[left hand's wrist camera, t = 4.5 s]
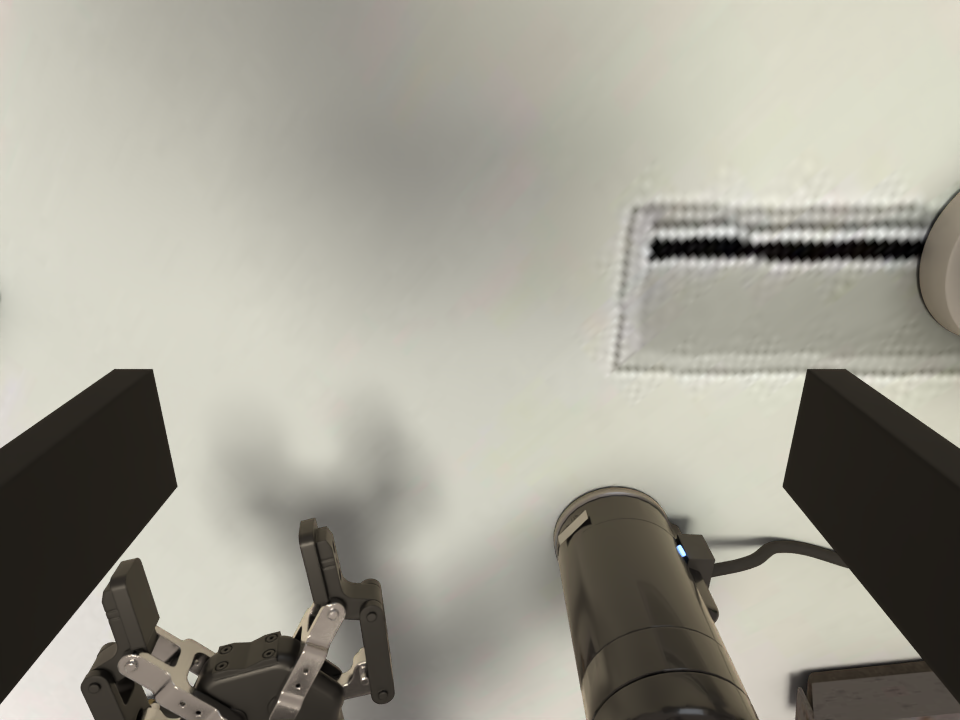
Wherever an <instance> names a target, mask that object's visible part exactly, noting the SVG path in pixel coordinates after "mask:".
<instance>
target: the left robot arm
mask: <svg viewBox="0 0 960 720" xmlns="http://www.w3.org/2000/svg"><path fill="white" fill-rule="evenodd" d="M176 488H177V482H176V477H175V473H174V468H173V463H172V458H171V454H170V449H169V444H168V439H167V435H166V430H165V425H164V420H163V416H162V411H161V406H160V401H159V397H158V392H157V387H156V383H155V378H154V373H153V369H114V370H113V371H111V372H110V373H108V374H107V375H105V376H104V377H102V378H101V379H100V380H98V381H97V382H95V383H94V384H92V385H91V386H90V387H88V388H87V389H85V390H84V391H82V392H81V393H79V394H78V395H77V396H75V397H74V398H72V399H71V400H69V401H68V402H67V403H65V404H64V405H62V406H61V407H59V408H58V409H56V410H55V411H54V412H52V413H51V414H49V415H48V416H46V417H45V418H44V419H42V420H41V421H39V422H38V423H36V424H35V425H33V426H32V427H31V428H29V429H28V430H26V431H25V432H23V433H22V434H21V435H19V436H18V437H16V438H15V439H13V440H12V441H10V442H9V443H8V444H6V445H5V446H3V447H2V448H0V704H1V703H2V702H3V700H4V699H5V698H6V697H7V695H8V694H9V693H10V692H11V691H12V689H13V688H14V687H15V686H16V684H17V683H18V682H19V681H20V679H21V678H22V677H23V676H24V675H25V673H26V672H27V671H28V670H29V668H30V667H31V666H32V665H33V664H34V662H35V661H36V660H37V659H38V657H39V656H40V655H41V654H42V652H43V651H44V650H45V649H46V648H47V646H48V645H49V644H50V643H51V641H52V640H53V639H54V638H55V636H56V635H57V634H58V633H59V632H60V630H61V629H62V628H63V627H64V625H65V624H66V623H67V622H68V621H69V619H70V618H71V617H72V616H73V614H74V613H75V612H76V611H77V609H78V608H79V607H80V606H81V605H82V603H83V602H84V601H85V600H86V598H87V597H88V596H89V595H90V593H91V592H92V591H93V590H94V589H95V587H96V586H97V585H98V584H99V582H100V581H101V580H102V579H103V578H104V576H105V575H106V574H107V573H108V571H109V570H110V569H111V568H112V566H113V565H114V564H115V563H116V562H117V560H118V559H119V558H120V557H121V555H122V554H123V553H124V552H125V550H126V549H127V548H128V547H129V546H130V544H131V543H132V542H133V541H134V539H135V538H136V537H137V536H138V535H139V533H140V532H141V531H142V530H143V528H144V527H145V526H146V525H147V523H148V522H149V521H150V520H151V519H152V517H153V516H154V515H155V514H156V512H157V511H158V510H159V509H160V507H161V506H162V505H163V504H164V503H165V501H166V500H167V499H168V498H169V496H170V495H171V494H172V493H173V492H174V490H175V489H176ZM783 488H784V489H785V490H786V492H787V493H788V494H789V495H790V496H791V498H792V499H793V500H794V501H795V503H796V504H797V505H798V506H799V507H800V509H801V510H802V511H803V512H804V514H805V515H806V516H807V517H808V519H809V520H810V521H811V522H812V523H813V525H814V526H815V527H816V528H817V530H818V531H819V532H820V533H821V535H822V536H823V537H824V538H825V539H826V541H827V542H828V543H829V544H830V546H831V547H832V548H833V549H834V550H835V552H836V553H837V554H838V555H839V557H840V558H841V559H842V560H843V562H844V563H845V564H846V565H847V566H848V568H849V569H850V570H851V571H852V573H853V574H854V575H855V576H856V578H857V579H858V580H859V581H860V582H861V584H862V585H863V586H864V587H865V589H866V590H867V591H868V592H869V593H870V595H871V596H872V597H873V598H874V600H875V601H876V602H877V603H878V605H879V606H880V607H881V608H882V609H883V611H884V612H885V613H886V614H887V616H888V617H889V618H890V619H891V621H892V622H893V623H894V624H895V625H896V627H897V628H898V629H899V630H900V632H901V633H902V634H903V635H904V636H905V638H906V639H907V640H908V641H909V643H910V644H911V645H912V646H913V648H914V649H915V650H916V651H917V652H918V654H919V655H920V656H921V657H922V659H923V660H924V661H925V662H926V664H927V665H928V666H929V667H930V668H931V670H932V671H933V672H934V673H935V675H936V676H937V677H938V678H939V679H940V681H941V682H942V683H943V684H944V686H945V687H946V688H947V689H948V691H949V692H950V693H951V694H952V695H953V697H954V698H955V699H956V700H957V702H958V703H959V704H960V448H958V447H957V446H955V445H954V444H952V443H951V442H950V441H948V440H947V439H945V438H944V437H942V436H941V435H939V434H938V433H937V432H935V431H934V430H932V429H931V428H929V427H928V426H927V425H925V424H924V423H922V422H921V421H919V420H918V419H916V418H915V417H914V416H912V415H911V414H909V413H908V412H906V411H905V410H904V409H902V408H901V407H899V406H898V405H896V404H895V403H893V402H892V401H891V400H889V399H888V398H886V397H885V396H883V395H882V394H881V393H879V392H878V391H876V390H875V389H873V388H872V387H870V386H869V385H868V384H866V383H865V382H863V381H862V380H860V379H859V378H858V377H856V376H855V375H853V374H852V373H850V372H849V371H847V370H846V369H807V373H806V378H805V383H804V387H803V392H802V397H801V401H800V406H799V411H798V416H797V420H796V425H795V430H794V435H793V439H792V444H791V449H790V454H789V458H788V463H787V468H786V473H785V477H784V482H783Z"/></svg>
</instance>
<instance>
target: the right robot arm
mask: <svg viewBox="0 0 960 720" xmlns="http://www.w3.org/2000/svg"><path fill="white" fill-rule="evenodd" d="M299 544H300V549H301V553H302V557H303V561H304V565H305V569H306V573H307V577H308V581H309V585H310V589H311V593H312V597H313V601H314V602H313V604H312V606H311V607H310V608H308V609H307V611H306V612H305V614H304V616H303V618H302V620H301V622H300V624H299V625H298V627H297V629H296V631H295V633H294V635H293V637H290V636H281V633H280V631H279V632H275V633H271V634H267V635H264V636H262V637H260V638H258V639H256V640H254V641H252V642H245V643H232V644H228V645H224V646H220V647H219V650H218V652H217V653H214V652H213V651H211V650H209V649H208V648H206V647H204V646H203V645H201V644H199V643H198V642H196V641H194V640H193V639H186V640H180V639H178V638H177V637H175V636H173V635H172V634H170V633H168V632H167V631H165V630H163V629H162V628H160V627H158V626H157V622H158V620H159V618H160V617H159V614H158V611H157V608H156V605H155V602H154V599H153V596H152V593H151V590H150V587H149V584H148V581H147V577H146V574H145V571H144V568H143V565H142V562H141V560H140V559H139V558H135V559H130V560H126V561H122V562H121V563H120V564H119V566H118V568H117V569H116V571H115V572H114V574H113V575H112V577H111V579H110V582H109V584H108V585H107V587H106V588H105V590H104V591H103V597H102V604H103V607H104V610H105V612H106V616H107V618H108V619H109V624H110V627H111V630H112V633H113V635H114V638H115V641H116V642H110V643H107V644H105V645H104V646H103V647H102V648H101V650H100V652H99V653H98V655H97V658H96V660H95V662H94V664H93V666H92V667H91V669H90V671H89V673H88V674H87V675H86V677H85V678H84V680H83V682H82V684H81V691H82V694H83V696H84V698H85V700H86V702H87V704H88V706H89V708H90V711H91V713H92V715H93V717H94V719H95V720H344V717H343V713H342V709H341V707H342V705H343V702H344V700H345V699H350V698H354V697H359V696H363V695H367V694H371V697H372V700H373V701H374V702H375V703H378V704H385V703H388V702H389V701H391V700H392V699H393V697H394V694H395V692H394V682H393V672H392V663H391V655H390V648H389V641H388V634H387V626H386V619H385V612H384V605H383V598H382V591H381V585H380V583H379V582H378V581H377V580H375V579H366V580H364V581H363V582H362V583H352V582H349V581H347V580H346V579H345V578H344V577H343V575H342V573H341V568H340V564H339V560H338V555H337V551H336V547H335V542H334V538H333V534H332V533H331V531H330V530H329V529H328V527H327V526H326V527H322V528H318V526H317V522H316V519H315V518H313V519H308V520H304V521H301V523H300V530H299ZM554 547H555V552H556V557H557V560H558V562H559V568H560V574H561V580H562V586H563V592H564V597H565V603H566V609H567V614H568V620H569V626H570V631H571V637H572V642H573V648H574V654H575V659H576V665H577V671H578V676H579V682H580V688H581V693H582V698H583V704H584V709H585V715H586V720H759V718H758V716H757V714H756V712H755V710H754V707H753V705H752V704H751V702H750V699H749V697H748V695H747V693H746V691H745V688H744V686H743V684H742V682H741V680H740V678H739V675H738V673H737V671H736V669H735V667H734V665H733V662H732V660H731V658H730V656H729V654H728V652H727V650H726V648H725V646H724V643H723V641H722V639H721V637H720V635H719V633H718V630H717V628H716V626H715V624H714V623H715V622H716V621H717V619H718V617H719V611H718V608H717V606H716V604H715V602H714V600H713V598H712V596H711V594H710V592H709V590H708V588H709V584H710V580H711V577H716V576H721V575H726V574H731V573H736V572H741V571H745V570H748V569H751V568H754V567H757V566H759V565H761V564H762V563H764V562H765V561H766V560H767V559H768V558H770V557H771V556H772V555H774V554H776V553H795V554H801V555H806V556H810V557H814V558H817V559H820V560H823V561H827V562H830V563H833V564H836V565H839V566H842V567H846V568H848V566H847V565H846V564H845V563H844V562H843V560H842V559H841V558H840V557H839V555H838V554H837V553H836V552H834V551H831V550H827V549H824V548H821V547H818V546H814V545H811V544H807V543H802V542H796V541H773V542H769V543H766V544H764V545H763V546H762V547H760V548H759V549H758V550H757V551H756V552H754V553H753V554H751V555H749V556H746V557H743V558H739V559H736V560H731V561H726V562H721V563H715V559H714V557H713V555H712V553H711V551H710V549H709V547H708V545H707V543H706V542H705V540H704V538H703V536H702V535H692V534H682V533H681V531H680V529H679V527H678V526H677V525H674V524H672V523H670V522H669V520H668V518H667V516H666V514H665V512H664V510H663V509H662V508H661V506H660V505H659V504H658V503H657V502H656V501H655V500H653V499H652V498H651V497H649V496H647V495H646V494H644V493H641V492H639V491H636V490H632V489H627V488H605V489H600V490H596V491H593V492H590V493H588V494H586V495H584V496H582V497H580V498H578V499H577V500H576V501H574V502H573V503H572V504H571V505H569V506H568V507H567V508H566V510H565V511H564V512H563V513H562V515H561V516H560V518H559V520H558V522H557V525H556V527H555V531H554ZM714 563H715V564H714ZM344 619H349V620H360V625H361V631H362V638H363V644H364V647H363V648H361V649H360V650H359V652H358V653H357V654H356V655H355V656H354V658H353V665H352V667H351V669H350V670H349V671H347V672H345V673H342V671H341V670H340V669H339V668H338V667H337V666H336V665H334V664H333V663H331V662H330V661H328V660H327V659H326V656H327V653H328V650H329V646H330V644H331V642H332V640H333V638H334V636H335V634H336V633H337V631H338V629H339V627H340V625H341V623H342V621H343V620H344ZM189 671H191V672H192V673H194V674H196V675H198V678H197V680H196V682H195V684H194V687H192V686H191V685H190V684H189V682H188V679H187V676H188V673H189ZM141 685H142V686H144V687H145V688H147V689H149V690H151V691H152V692H153V694H154V698H155V700H156V702H157V703H158V704H157V703H153V704H151V705H150V704H149V702H148V699H147V697H146V695H145V693H144V690H143V688H142V686H141ZM160 705H161V706H162V707H164V708H166V709H168V710H170V711H172V712H173V713H175V714H177V715H179V716H180V718H177V719H171V718H168V717H166V716H165V715H164V714H163V713H162V712H161V711H160V710H159V709H160Z"/></svg>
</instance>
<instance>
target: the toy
mask: <svg viewBox="0 0 960 720" xmlns="http://www.w3.org/2000/svg"><path fill="white" fill-rule="evenodd" d="M795 720H960V704H959V703H958V702H957V700H956V699H955V698H954V697H953V695H952V694H951V693H950V692H949V691H948V689H947V688H946V687H945V686H944V684H943V683H942V682H941V681H940V679H939V678H938V677H937V676H936V675H935V673H934V672H933V671H932V670H931V668H930V667H929V666H928V665H927V664H926V662H925V661H918V662H908V663H899V664H889V665H880V666H870V667H861V668H851V669H841V670H832V671H822V672H813V673H811V674H810V675H809V678H808V685H807V698H806V696H805V693H804V691H803V689H802V687H800V688H798V689H797V703H796V717H795Z"/></svg>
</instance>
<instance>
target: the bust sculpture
mask: <svg viewBox="0 0 960 720" xmlns="http://www.w3.org/2000/svg"><path fill="white" fill-rule="evenodd" d="M919 278H920V288H921V293H922V296H923V299H924V302H925V304H926V306H927V308H928V310H929V312H930V313H931V315H932V316H933V317H934V318H935V320H936V321H937V322H938V323H939V324H941V325H942V326H943V327H944V328H946V329H947V330H949V331H950V332H952V333H954V334H956V335H959V336H960V192H959V193H958V194H957V195H956V196H955V197H954V198H953V199H952V200H951V202H950V203H949V204H948V205H947V206H946V208H945V209H944V210H943V212H942V213H941V214H940V216H939V217H938V219H937V220H936V222H935V224H934V226H933V227H932V229H931V231H930V233H929V236H928V238H927V240H926V243H925V246H924V249H923V253H922V257H921V262H920V273H919Z"/></svg>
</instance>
